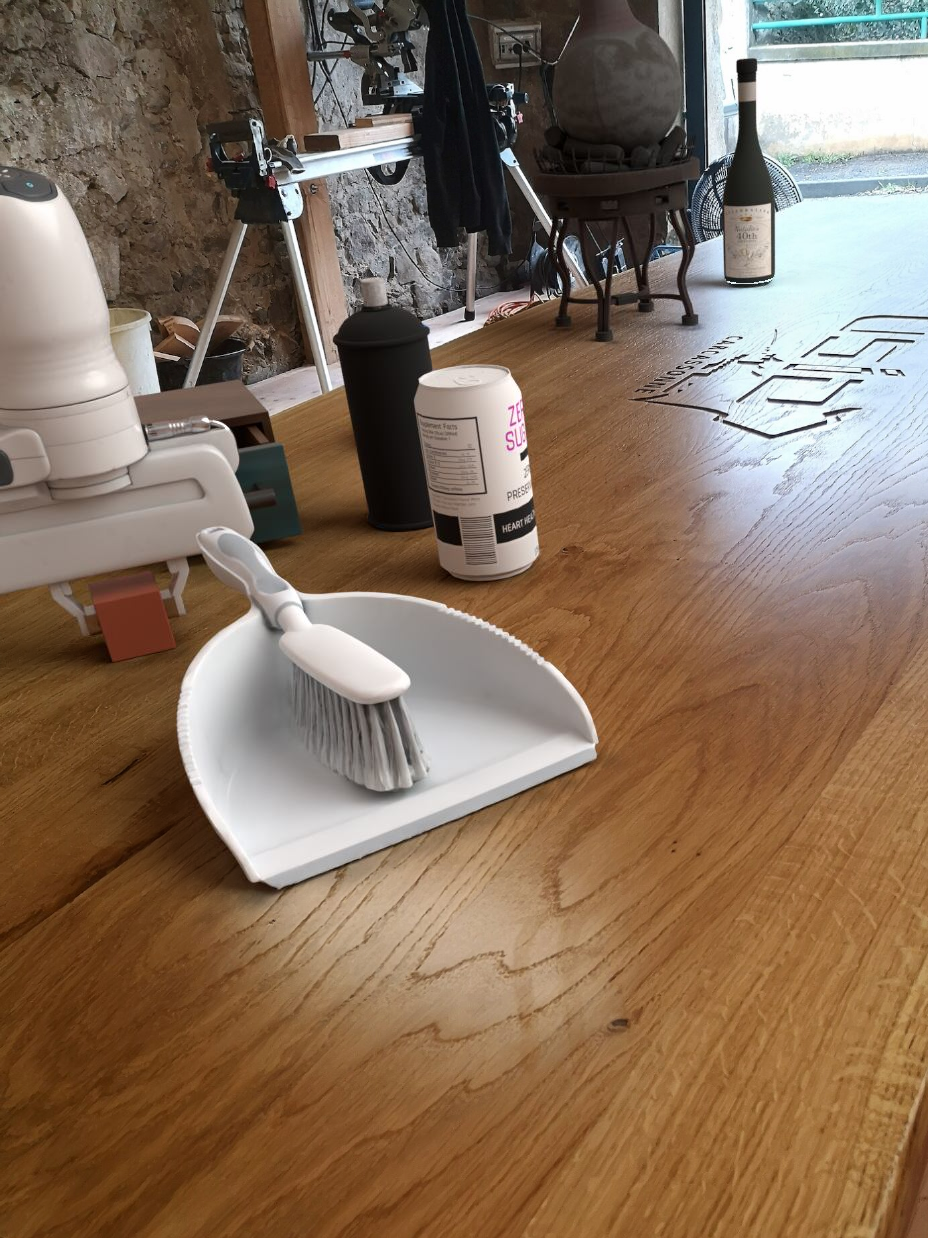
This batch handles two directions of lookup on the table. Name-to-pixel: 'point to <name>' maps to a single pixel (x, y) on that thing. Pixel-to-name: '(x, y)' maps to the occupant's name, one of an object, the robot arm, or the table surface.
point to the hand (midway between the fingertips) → (134, 624)
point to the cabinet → (207, 406)
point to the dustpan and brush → (359, 719)
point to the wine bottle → (748, 195)
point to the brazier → (616, 150)
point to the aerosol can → (387, 406)
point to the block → (132, 616)
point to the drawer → (265, 485)
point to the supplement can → (477, 471)
